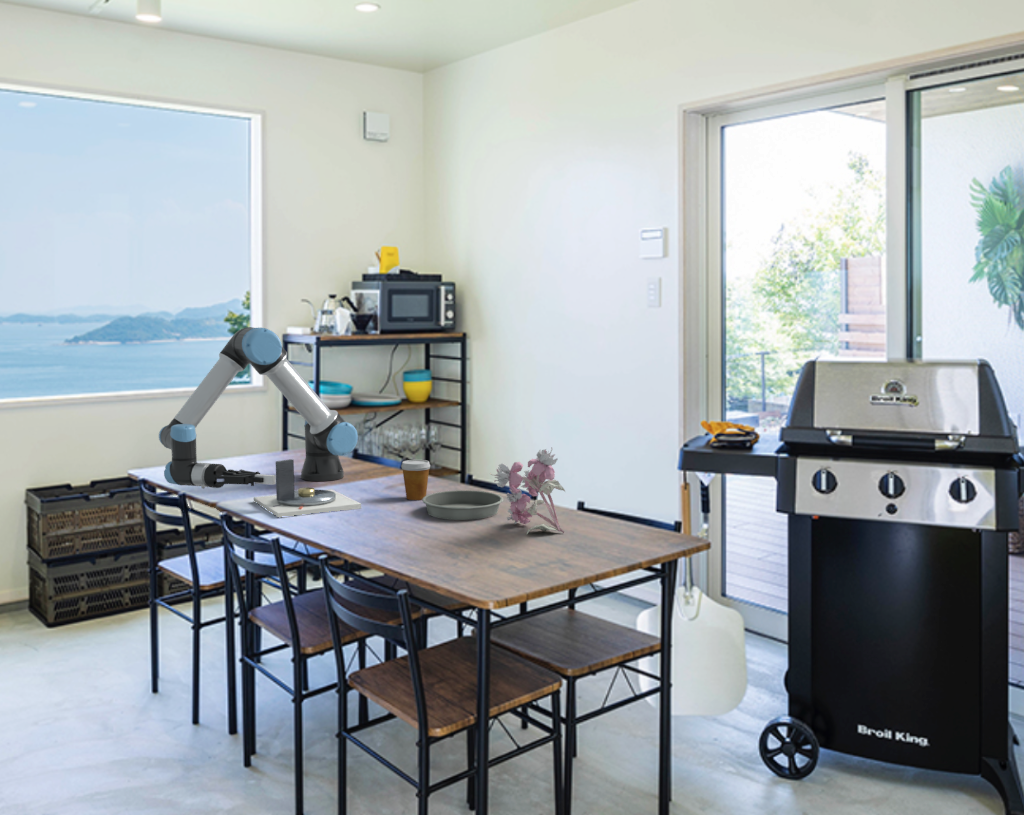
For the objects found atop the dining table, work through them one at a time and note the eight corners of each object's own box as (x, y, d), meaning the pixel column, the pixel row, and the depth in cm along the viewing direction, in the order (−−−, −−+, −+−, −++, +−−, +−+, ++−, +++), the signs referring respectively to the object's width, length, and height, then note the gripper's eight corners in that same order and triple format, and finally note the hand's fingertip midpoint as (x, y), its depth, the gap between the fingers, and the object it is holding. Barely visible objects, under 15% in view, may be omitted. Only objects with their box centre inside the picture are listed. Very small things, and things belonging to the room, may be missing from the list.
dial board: (331, 493, 313) (331, 488, 312) (361, 508, 290) (361, 502, 290) (253, 502, 299) (253, 496, 299) (278, 518, 277) (278, 512, 277)
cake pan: (430, 524, 271) (430, 509, 270) (416, 506, 295) (416, 492, 294) (512, 519, 278) (512, 504, 277) (492, 502, 301) (492, 488, 301)
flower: (581, 514, 275) (544, 438, 275) (590, 524, 253) (550, 441, 252) (520, 544, 275) (482, 468, 274) (523, 557, 252) (482, 474, 252)
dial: (312, 491, 307) (311, 451, 306) (347, 499, 295) (346, 457, 294) (261, 500, 293) (260, 458, 291) (295, 509, 281) (294, 465, 279)
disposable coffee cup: (433, 495, 310) (432, 459, 308) (427, 501, 300) (427, 464, 299) (404, 495, 310) (404, 459, 309) (398, 501, 301) (398, 464, 300)
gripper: (223, 483, 303) (286, 488, 295) (197, 490, 291) (262, 496, 283) (222, 460, 302) (285, 464, 295) (196, 467, 290) (261, 471, 282)
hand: (274, 480), depth 289 cm, fingers closed
